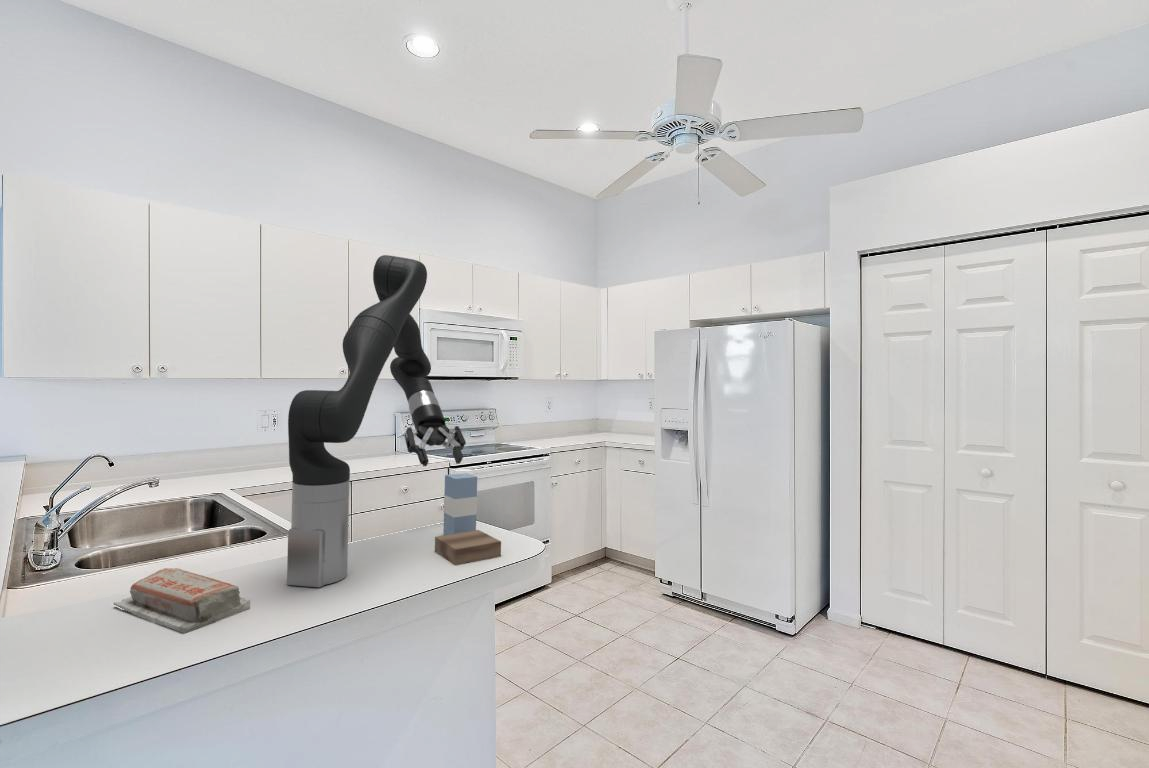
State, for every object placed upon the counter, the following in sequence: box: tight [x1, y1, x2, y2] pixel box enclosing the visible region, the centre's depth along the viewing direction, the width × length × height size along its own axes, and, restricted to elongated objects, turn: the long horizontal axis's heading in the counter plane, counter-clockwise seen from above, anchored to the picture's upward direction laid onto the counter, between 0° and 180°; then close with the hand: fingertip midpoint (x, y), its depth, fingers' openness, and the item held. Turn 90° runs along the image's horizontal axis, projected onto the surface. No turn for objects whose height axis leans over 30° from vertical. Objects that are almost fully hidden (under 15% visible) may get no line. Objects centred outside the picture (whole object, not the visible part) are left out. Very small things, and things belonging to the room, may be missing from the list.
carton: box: [442, 472, 478, 536], centre depth 123 cm, size 6×6×14 cm
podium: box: [434, 529, 502, 566], centre depth 112 cm, size 10×10×3 cm
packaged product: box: [113, 567, 251, 634], centre depth 83 cm, size 18×5×10 cm
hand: (443, 462), depth 131 cm, fingers open, 8 cm apart
